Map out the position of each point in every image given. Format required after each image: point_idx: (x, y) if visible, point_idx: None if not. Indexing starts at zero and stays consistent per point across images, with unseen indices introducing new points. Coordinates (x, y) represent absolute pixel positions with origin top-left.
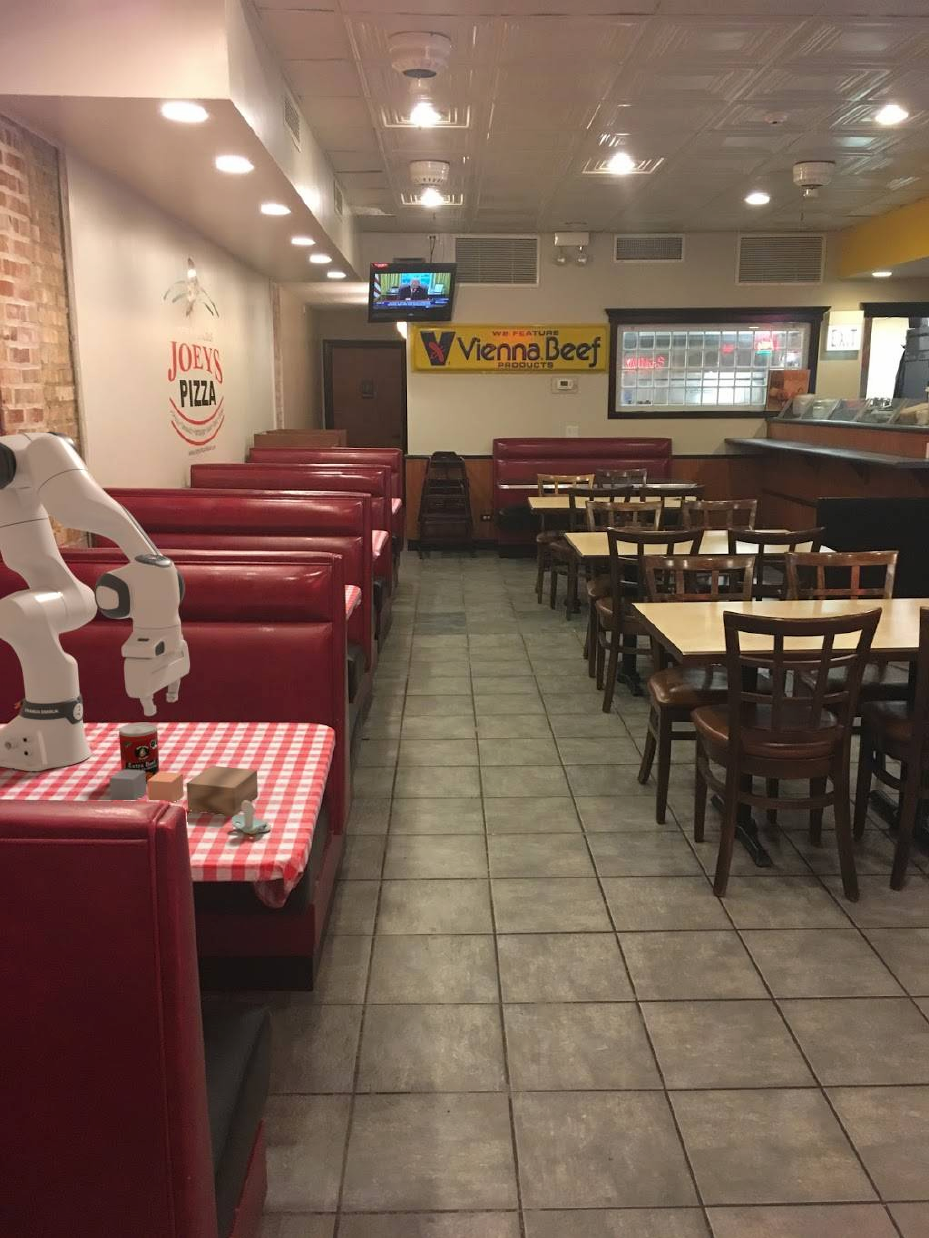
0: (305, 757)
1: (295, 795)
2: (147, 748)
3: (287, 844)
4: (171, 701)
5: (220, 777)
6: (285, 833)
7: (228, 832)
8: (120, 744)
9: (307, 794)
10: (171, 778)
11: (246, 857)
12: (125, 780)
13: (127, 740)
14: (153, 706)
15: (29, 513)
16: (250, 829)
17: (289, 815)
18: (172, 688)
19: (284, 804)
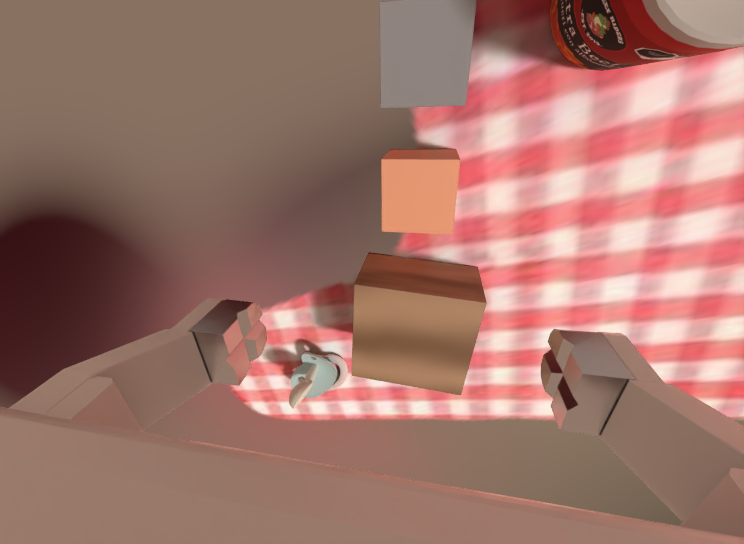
0: (719, 394)
1: (470, 400)
2: (617, 42)
3: (292, 408)
4: (550, 354)
5: (404, 341)
6: (322, 403)
7: (302, 340)
8: None
9: (476, 414)
10: (408, 220)
11: None
12: (380, 76)
13: None
14: (204, 382)
15: None
16: (302, 373)
17: (384, 401)
18: (654, 444)
19: (427, 390)
